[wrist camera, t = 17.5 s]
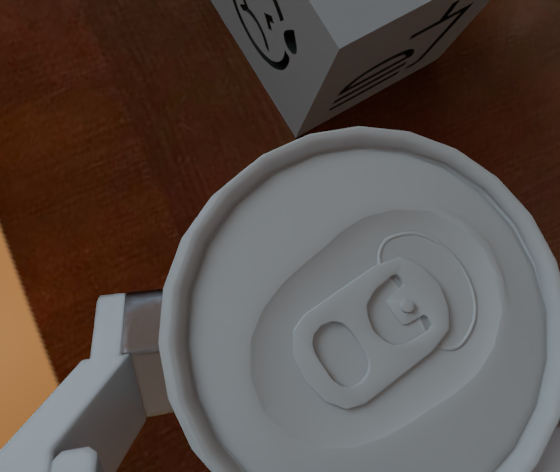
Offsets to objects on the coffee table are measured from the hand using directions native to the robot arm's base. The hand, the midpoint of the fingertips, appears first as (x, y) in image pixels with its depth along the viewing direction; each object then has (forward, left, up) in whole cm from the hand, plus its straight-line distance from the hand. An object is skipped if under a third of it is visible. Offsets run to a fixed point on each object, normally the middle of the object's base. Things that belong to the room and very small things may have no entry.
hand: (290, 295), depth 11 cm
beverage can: (0, 0, -7) cm, 7 cm away
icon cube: (+6, -16, -17) cm, 24 cm away
